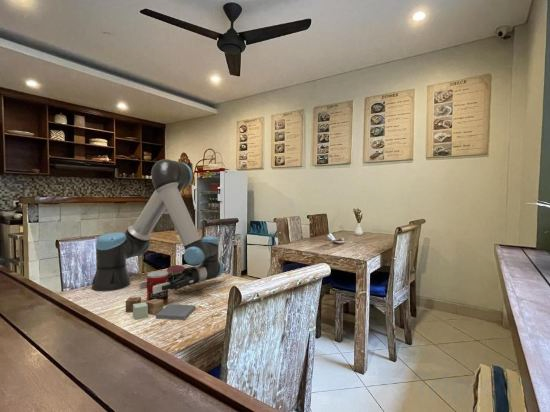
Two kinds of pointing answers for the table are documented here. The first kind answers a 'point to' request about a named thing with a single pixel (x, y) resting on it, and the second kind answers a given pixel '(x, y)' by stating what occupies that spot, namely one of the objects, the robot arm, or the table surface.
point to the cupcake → (175, 268)
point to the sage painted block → (140, 310)
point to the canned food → (157, 279)
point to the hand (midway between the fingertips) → (146, 288)
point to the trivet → (175, 312)
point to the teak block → (154, 306)
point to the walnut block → (132, 301)
